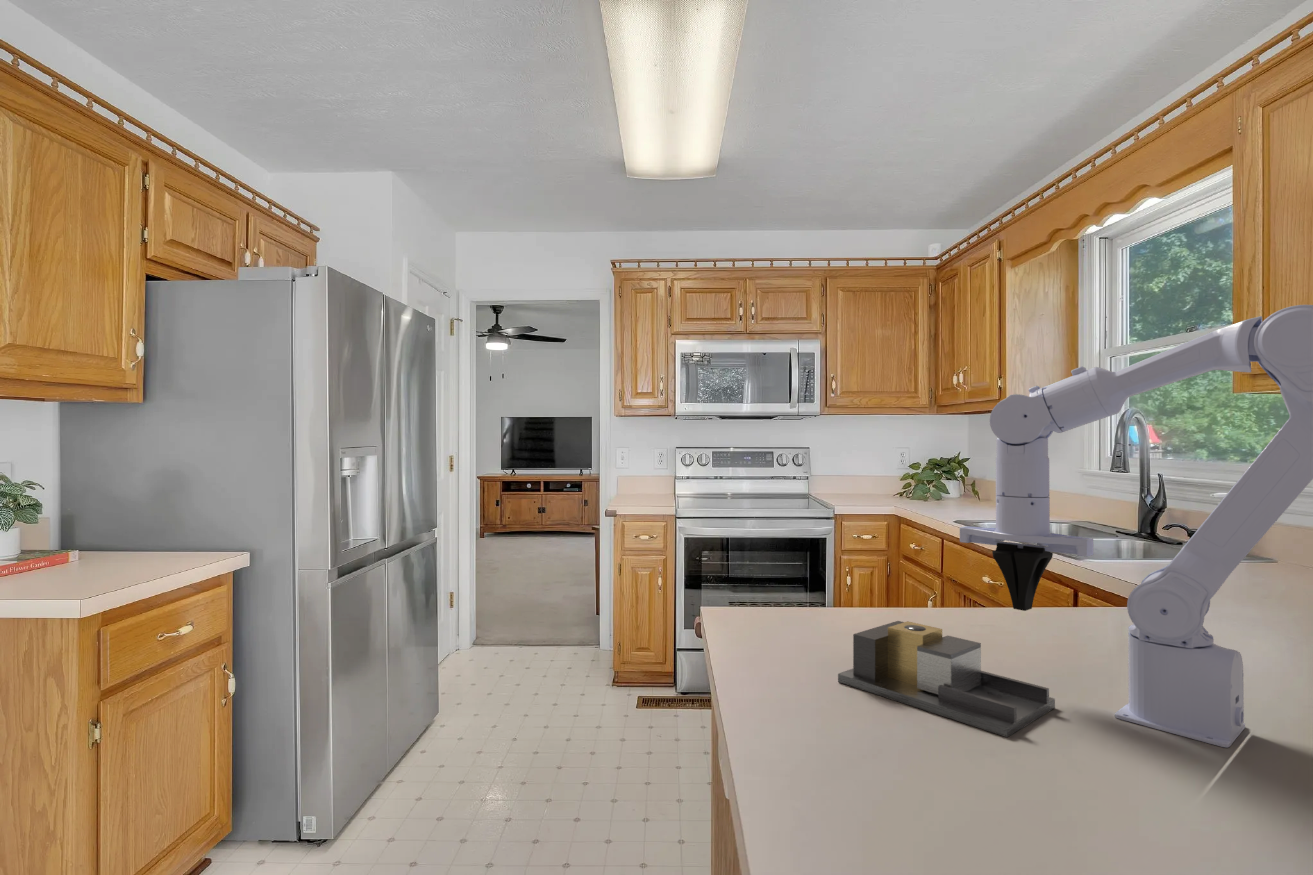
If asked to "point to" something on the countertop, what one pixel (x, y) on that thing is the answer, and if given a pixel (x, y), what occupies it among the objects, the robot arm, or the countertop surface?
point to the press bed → (948, 690)
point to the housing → (907, 649)
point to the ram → (948, 664)
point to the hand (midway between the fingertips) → (1022, 608)
